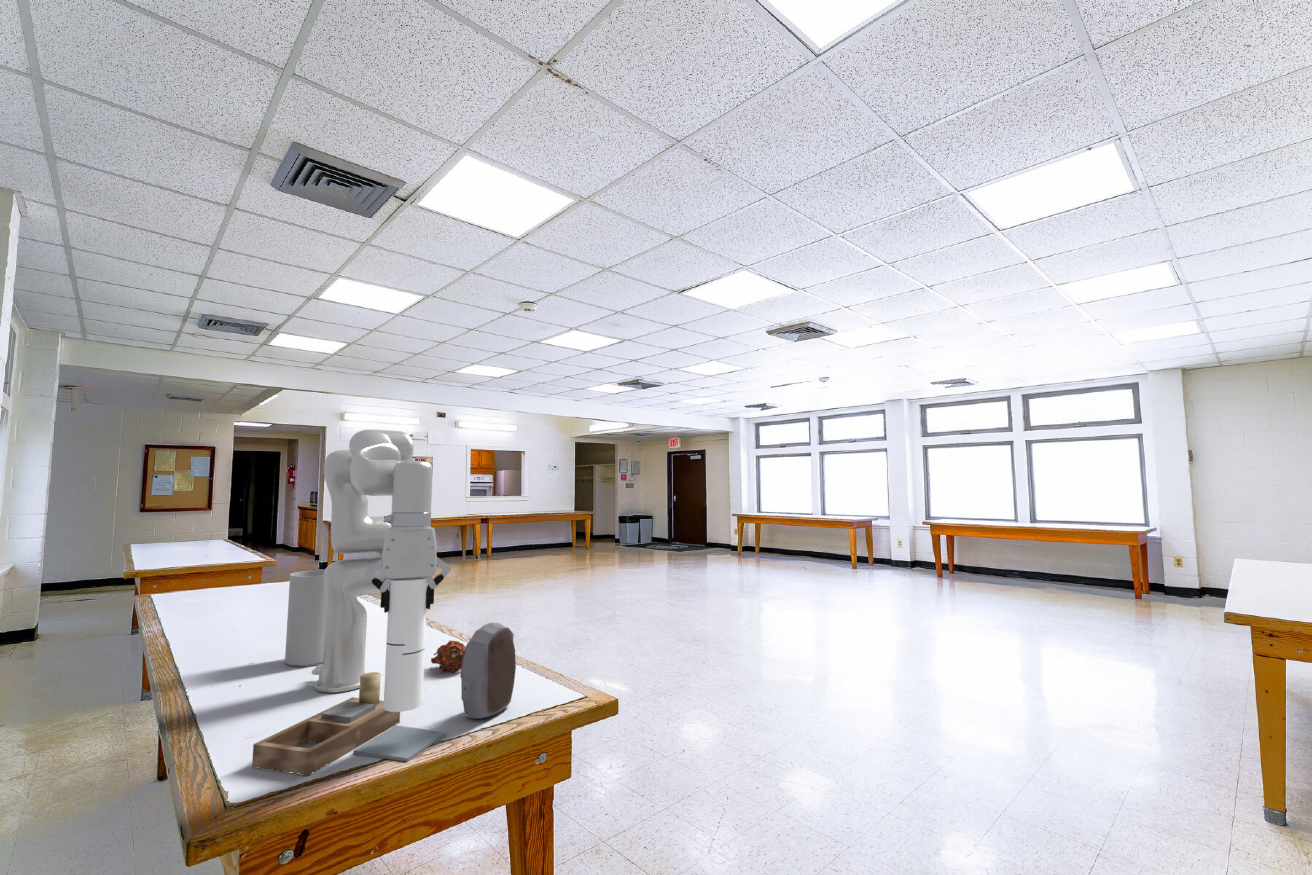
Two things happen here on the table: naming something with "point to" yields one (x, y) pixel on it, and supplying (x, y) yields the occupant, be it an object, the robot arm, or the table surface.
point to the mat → (400, 743)
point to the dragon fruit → (449, 656)
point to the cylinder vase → (306, 619)
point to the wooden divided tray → (327, 732)
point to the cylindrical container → (405, 644)
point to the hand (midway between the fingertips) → (407, 608)
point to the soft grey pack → (488, 671)
